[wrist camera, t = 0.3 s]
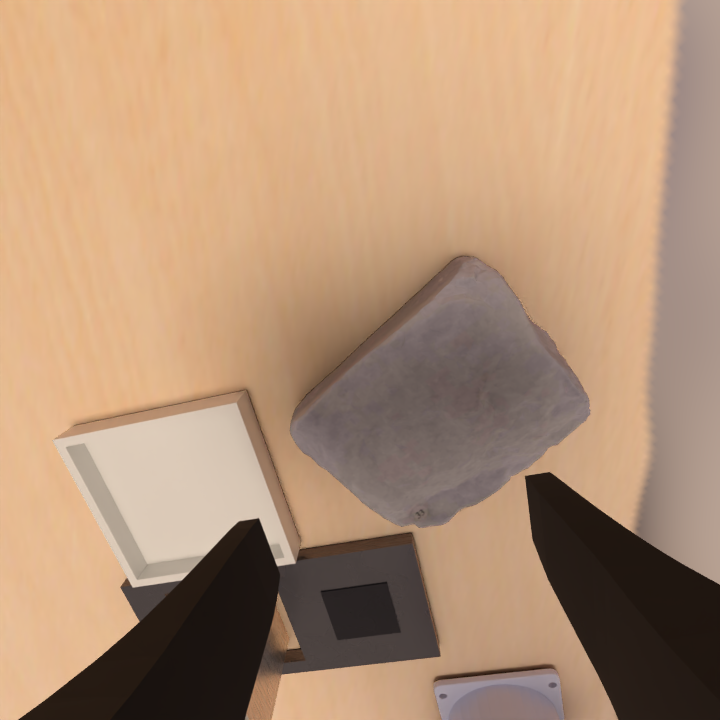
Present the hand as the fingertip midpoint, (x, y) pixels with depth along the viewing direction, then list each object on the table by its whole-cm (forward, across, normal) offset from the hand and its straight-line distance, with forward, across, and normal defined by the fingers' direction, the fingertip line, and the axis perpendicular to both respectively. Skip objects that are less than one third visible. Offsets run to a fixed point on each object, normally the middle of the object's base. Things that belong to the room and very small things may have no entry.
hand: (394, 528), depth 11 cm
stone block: (+10, -2, +1) cm, 11 cm away
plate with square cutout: (+10, +10, +14) cm, 20 cm away
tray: (+10, +12, +4) cm, 16 cm away
